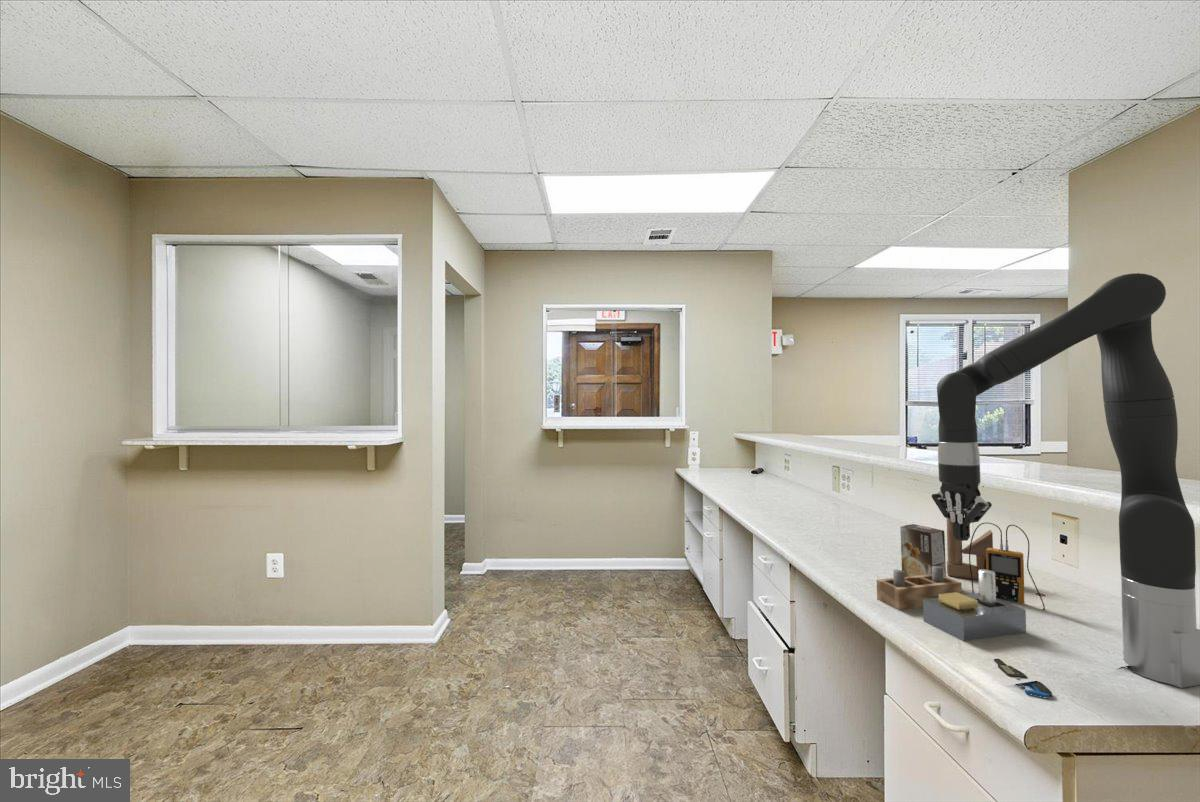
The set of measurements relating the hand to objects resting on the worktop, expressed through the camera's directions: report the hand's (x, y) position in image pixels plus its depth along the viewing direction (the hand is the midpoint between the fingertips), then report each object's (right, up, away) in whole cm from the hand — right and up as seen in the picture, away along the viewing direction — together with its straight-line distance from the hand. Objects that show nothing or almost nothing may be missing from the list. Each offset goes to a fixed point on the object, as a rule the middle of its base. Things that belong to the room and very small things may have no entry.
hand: (961, 539), depth 109 cm
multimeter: (+21, -21, +13) cm, 32 cm away
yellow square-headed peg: (-1, -19, 0) cm, 19 cm away
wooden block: (+28, -21, +34) cm, 49 cm away
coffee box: (+11, -21, +29) cm, 37 cm away
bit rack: (+1, -21, +15) cm, 26 cm away
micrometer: (-3, -21, -19) cm, 28 cm away
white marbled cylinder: (+7, -20, +1) cm, 21 cm away
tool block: (+3, -21, +1) cm, 21 cm away
